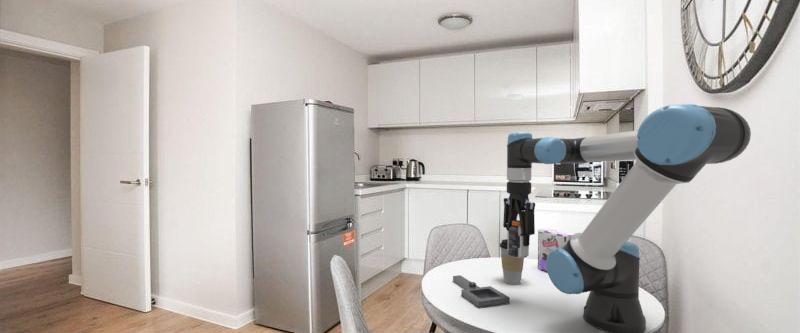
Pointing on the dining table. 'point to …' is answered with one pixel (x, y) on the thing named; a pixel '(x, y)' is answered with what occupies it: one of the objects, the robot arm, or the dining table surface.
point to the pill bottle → (515, 239)
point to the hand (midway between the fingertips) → (517, 253)
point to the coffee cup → (510, 265)
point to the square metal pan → (480, 293)
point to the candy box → (549, 244)
